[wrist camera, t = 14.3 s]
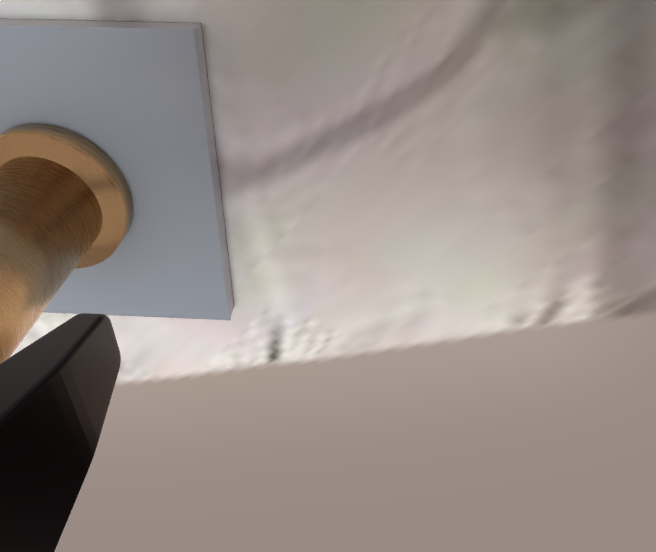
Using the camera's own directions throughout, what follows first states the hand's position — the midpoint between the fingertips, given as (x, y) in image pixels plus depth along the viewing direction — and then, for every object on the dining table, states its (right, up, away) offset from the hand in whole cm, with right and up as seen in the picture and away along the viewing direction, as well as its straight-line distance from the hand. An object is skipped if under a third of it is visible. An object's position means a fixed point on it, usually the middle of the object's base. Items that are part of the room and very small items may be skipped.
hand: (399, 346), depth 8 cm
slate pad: (-11, +5, +13) cm, 18 cm away
